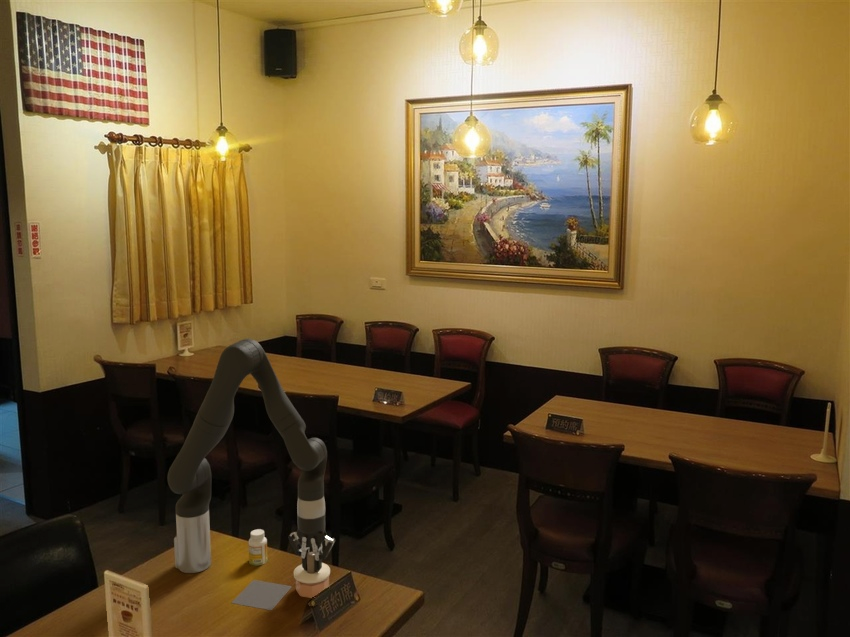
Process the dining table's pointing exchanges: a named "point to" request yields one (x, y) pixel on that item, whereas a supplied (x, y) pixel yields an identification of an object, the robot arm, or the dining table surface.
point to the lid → (311, 571)
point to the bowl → (311, 588)
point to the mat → (261, 595)
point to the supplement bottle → (257, 548)
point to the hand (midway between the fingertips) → (312, 569)
